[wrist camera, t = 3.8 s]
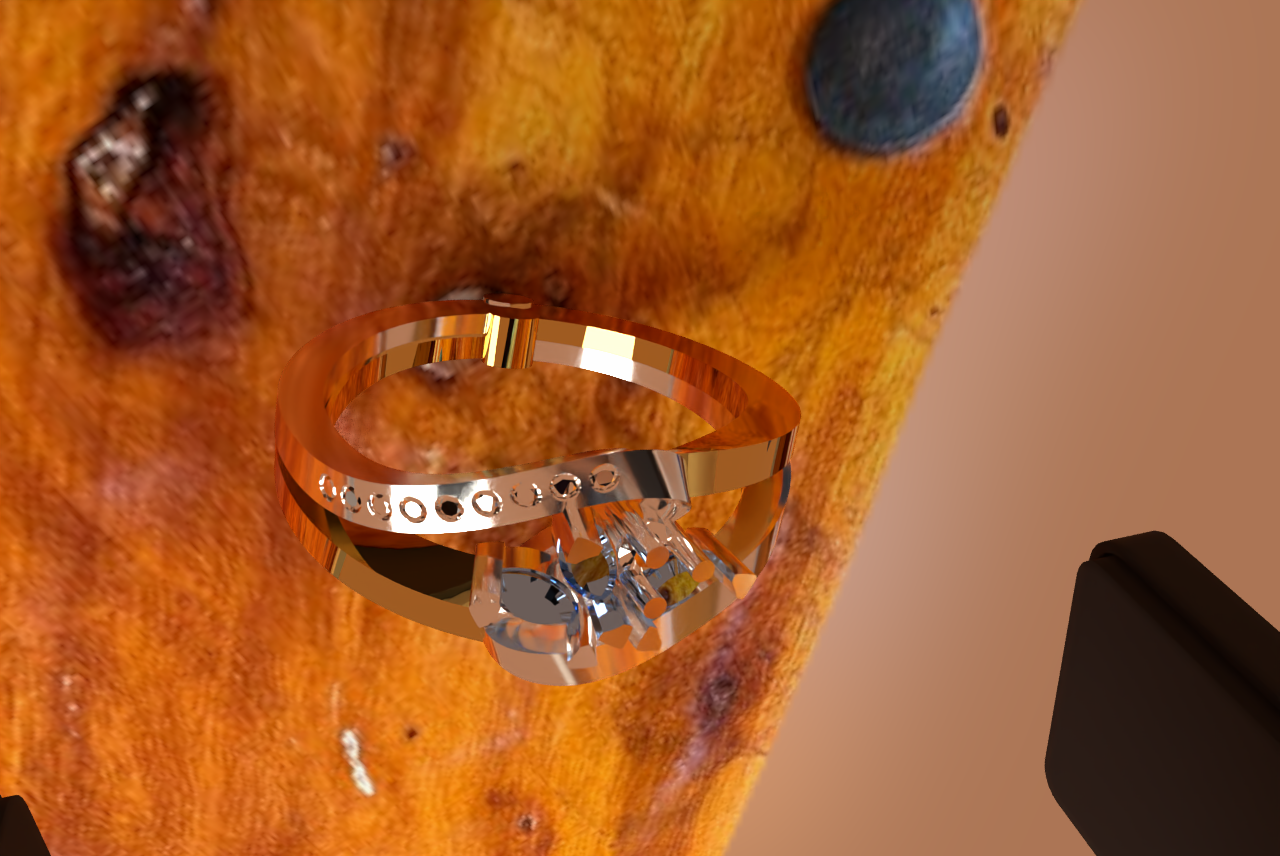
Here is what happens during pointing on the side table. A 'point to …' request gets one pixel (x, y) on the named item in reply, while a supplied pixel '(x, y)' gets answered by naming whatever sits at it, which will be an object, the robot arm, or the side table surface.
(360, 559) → the ring
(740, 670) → the side table surface
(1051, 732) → the robot arm
